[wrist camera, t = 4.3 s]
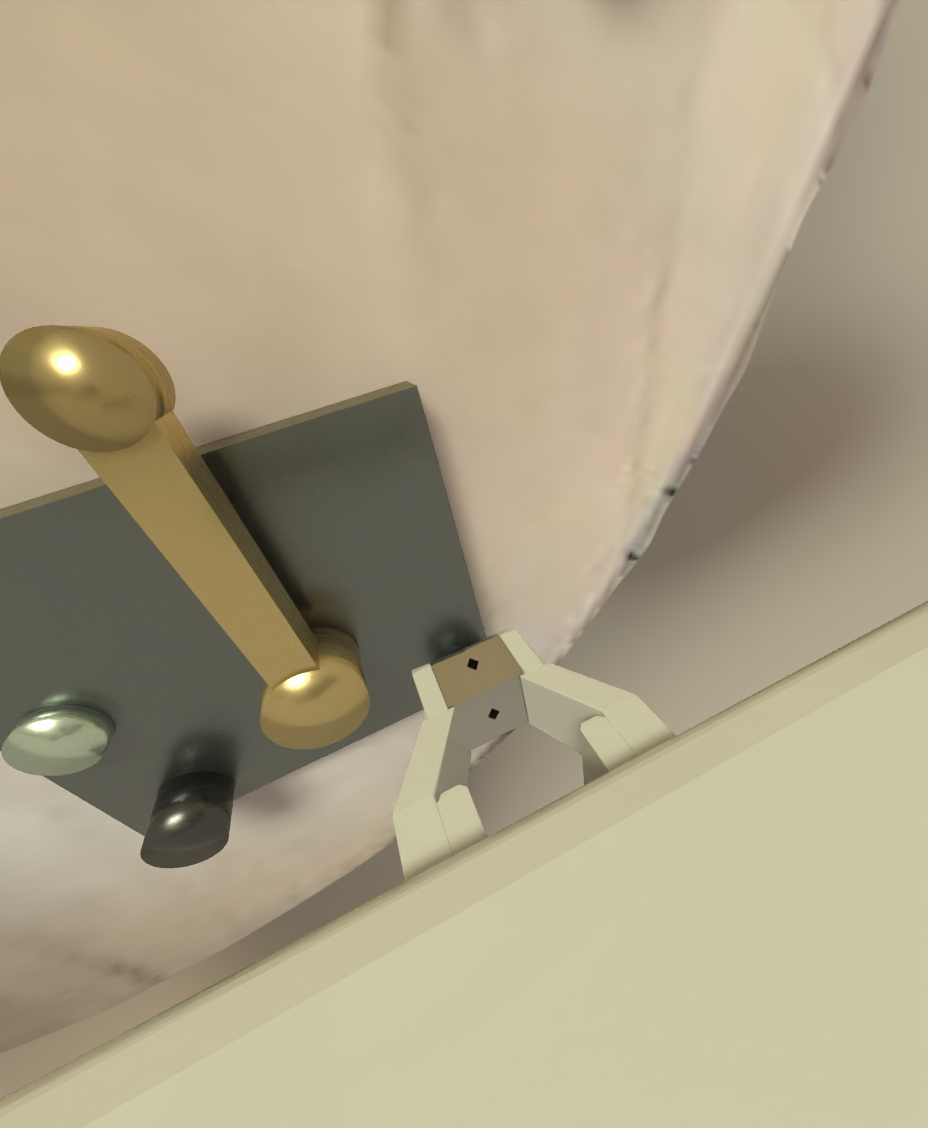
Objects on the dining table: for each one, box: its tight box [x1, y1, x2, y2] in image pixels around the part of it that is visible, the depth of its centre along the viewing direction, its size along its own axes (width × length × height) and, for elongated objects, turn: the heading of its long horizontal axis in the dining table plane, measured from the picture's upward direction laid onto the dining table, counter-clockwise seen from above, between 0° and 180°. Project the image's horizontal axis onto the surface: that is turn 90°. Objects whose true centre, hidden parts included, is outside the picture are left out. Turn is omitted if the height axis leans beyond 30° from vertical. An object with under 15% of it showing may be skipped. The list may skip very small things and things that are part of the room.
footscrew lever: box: [0, 325, 370, 749], centre depth 17 cm, size 19×5×4 cm, turn 14°
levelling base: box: [0, 381, 486, 868], centre depth 20 cm, size 20×24×5 cm
